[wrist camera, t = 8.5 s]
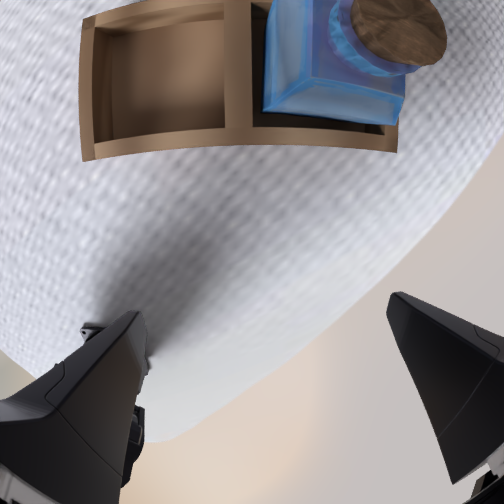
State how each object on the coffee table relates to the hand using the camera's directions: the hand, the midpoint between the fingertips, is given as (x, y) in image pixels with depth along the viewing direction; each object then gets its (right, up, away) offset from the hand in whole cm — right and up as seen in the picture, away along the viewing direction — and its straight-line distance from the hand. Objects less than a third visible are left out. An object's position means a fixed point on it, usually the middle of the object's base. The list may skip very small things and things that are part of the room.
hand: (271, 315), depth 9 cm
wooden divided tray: (-2, +14, +7) cm, 16 cm away
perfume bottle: (+3, +14, +6) cm, 16 cm away
